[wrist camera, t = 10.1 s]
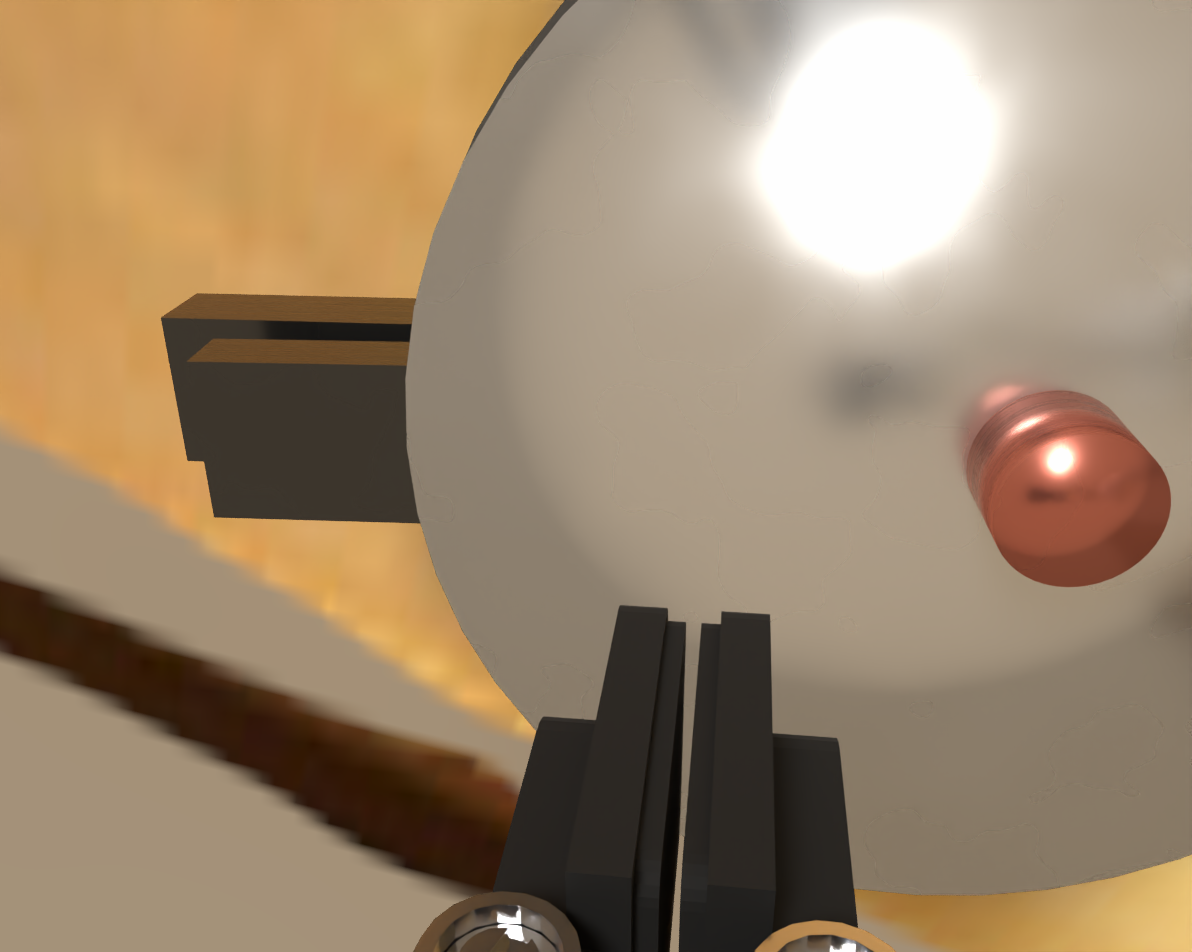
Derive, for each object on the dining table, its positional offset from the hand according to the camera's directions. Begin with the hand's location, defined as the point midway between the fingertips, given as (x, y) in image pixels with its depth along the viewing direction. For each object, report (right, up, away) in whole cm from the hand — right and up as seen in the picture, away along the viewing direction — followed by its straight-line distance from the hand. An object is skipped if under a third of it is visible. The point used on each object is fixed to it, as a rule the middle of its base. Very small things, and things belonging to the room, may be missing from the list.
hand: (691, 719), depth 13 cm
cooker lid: (+4, +4, +7) cm, 9 cm away
